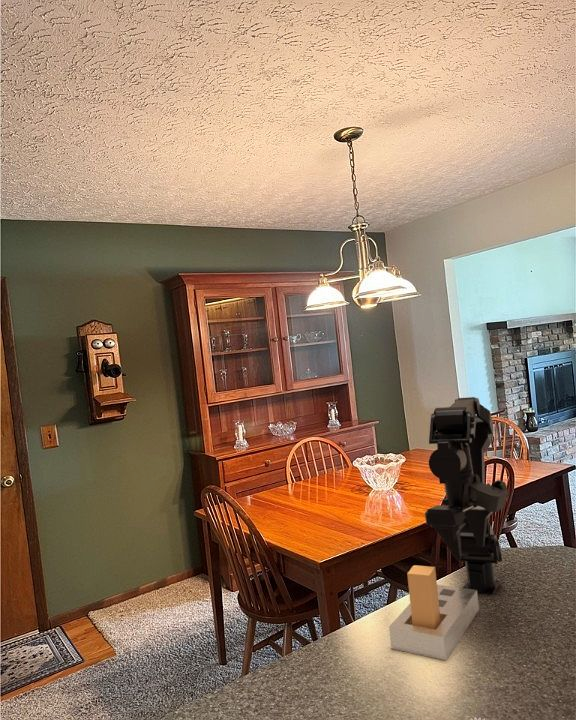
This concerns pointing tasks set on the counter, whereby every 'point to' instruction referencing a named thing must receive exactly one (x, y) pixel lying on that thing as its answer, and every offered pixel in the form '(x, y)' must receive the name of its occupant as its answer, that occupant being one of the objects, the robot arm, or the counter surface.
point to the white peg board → (438, 643)
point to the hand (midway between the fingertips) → (470, 552)
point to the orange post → (424, 597)
